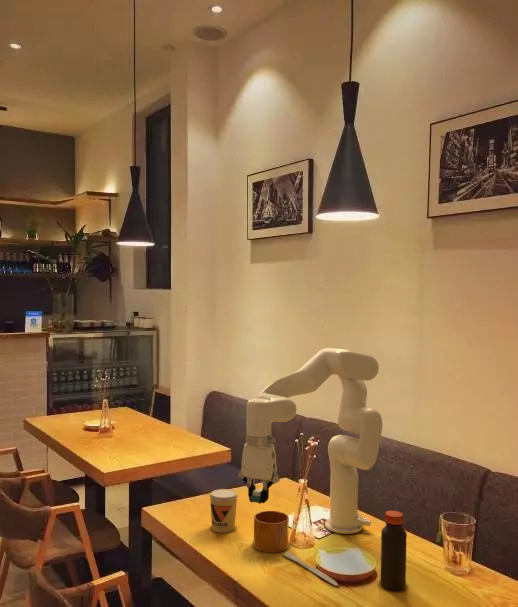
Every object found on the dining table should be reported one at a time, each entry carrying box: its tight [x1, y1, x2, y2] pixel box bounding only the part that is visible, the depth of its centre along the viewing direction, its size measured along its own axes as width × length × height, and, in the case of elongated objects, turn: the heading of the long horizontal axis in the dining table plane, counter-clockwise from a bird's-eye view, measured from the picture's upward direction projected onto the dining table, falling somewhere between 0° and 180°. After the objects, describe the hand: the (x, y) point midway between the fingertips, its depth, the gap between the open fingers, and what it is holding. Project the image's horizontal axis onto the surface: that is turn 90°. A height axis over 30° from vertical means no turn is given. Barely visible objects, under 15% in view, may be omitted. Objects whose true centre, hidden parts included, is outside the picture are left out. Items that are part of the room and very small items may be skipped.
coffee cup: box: [209, 488, 238, 534], centre depth 203 cm, size 9×9×12 cm
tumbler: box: [253, 510, 290, 553], centre depth 190 cm, size 11×11×9 cm
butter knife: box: [283, 551, 339, 587], centre depth 174 cm, size 1×24×3 cm
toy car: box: [249, 488, 263, 505], centre depth 180 cm, size 6×3×3 cm, turn 156°
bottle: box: [379, 510, 408, 592], centre depth 165 cm, size 7×7×20 cm
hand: (258, 500), depth 180 cm, fingers closed on toy car, 3 cm apart
